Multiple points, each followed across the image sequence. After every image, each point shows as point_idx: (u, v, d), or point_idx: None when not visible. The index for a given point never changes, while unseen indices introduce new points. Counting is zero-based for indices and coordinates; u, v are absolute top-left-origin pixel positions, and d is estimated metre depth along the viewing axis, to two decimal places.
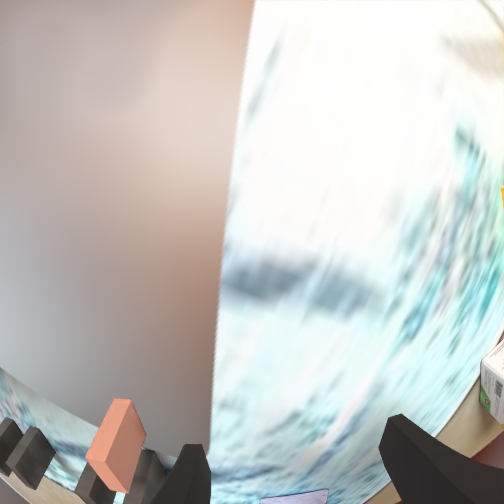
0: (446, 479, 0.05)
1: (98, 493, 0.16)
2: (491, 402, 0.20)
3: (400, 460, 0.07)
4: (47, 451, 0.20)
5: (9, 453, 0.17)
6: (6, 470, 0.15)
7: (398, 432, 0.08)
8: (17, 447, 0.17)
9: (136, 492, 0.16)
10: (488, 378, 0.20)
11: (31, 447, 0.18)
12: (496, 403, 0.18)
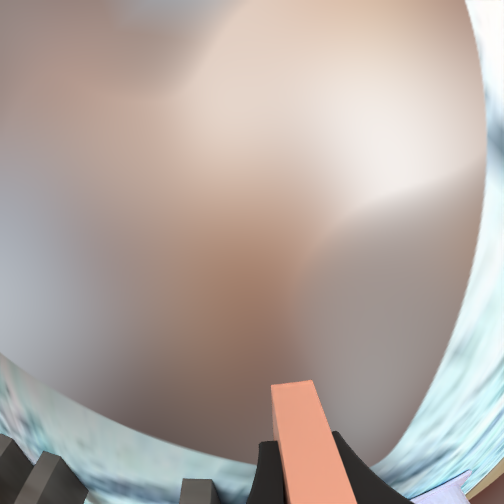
0: None
1: None
2: None
3: None
4: (76, 492, 0.11)
5: (9, 494, 0.08)
6: None
7: None
8: (22, 490, 0.07)
9: None
10: None
11: (49, 491, 0.09)
12: None
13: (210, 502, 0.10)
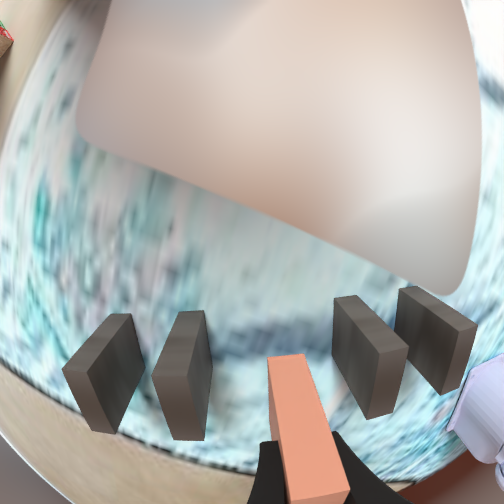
0: None
1: None
2: None
3: None
4: (208, 359, 0.18)
5: (120, 380, 0.14)
6: (113, 418, 0.12)
7: None
8: (166, 345, 0.14)
9: (454, 316, 0.13)
10: None
11: (199, 340, 0.15)
12: None
13: (365, 305, 0.17)
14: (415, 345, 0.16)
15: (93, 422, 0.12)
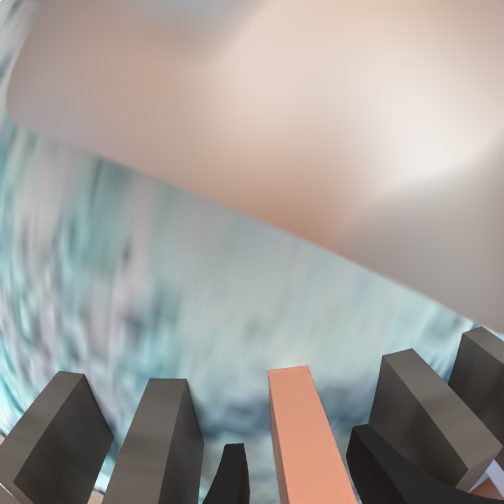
0: (403, 499, 0.05)
1: None
2: None
3: (363, 472, 0.07)
4: (196, 443, 0.10)
5: (73, 471, 0.07)
6: None
7: (360, 443, 0.08)
8: (124, 449, 0.07)
9: None
10: None
11: (177, 438, 0.08)
12: None
13: (428, 368, 0.10)
14: (479, 409, 0.09)
15: None
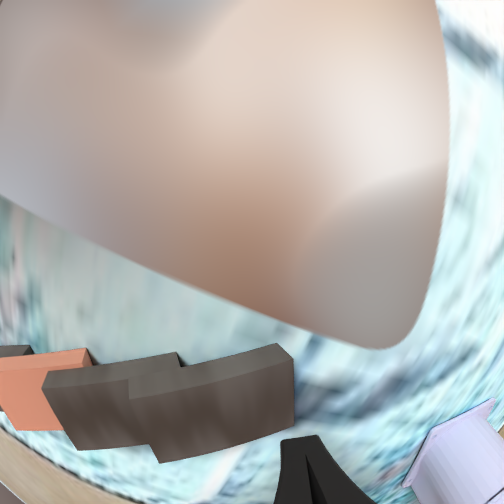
0: None
1: (73, 409, 0.10)
2: None
3: None
4: None
5: None
6: None
7: None
8: None
9: (165, 383, 0.10)
10: None
11: None
12: None
13: None
14: None
15: None
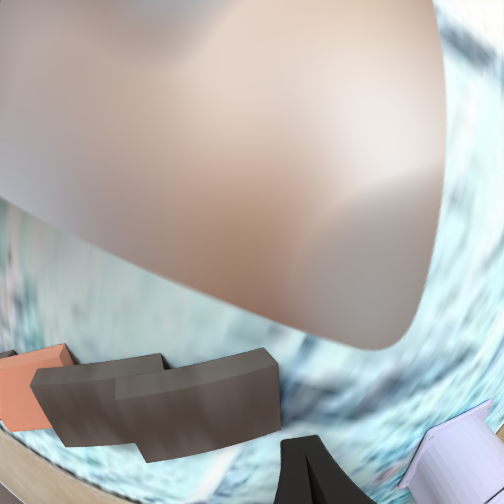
0: None
1: (60, 406, 0.10)
2: None
3: None
4: None
5: None
6: None
7: None
8: None
9: (150, 384, 0.10)
10: None
11: None
12: None
13: None
14: None
15: None
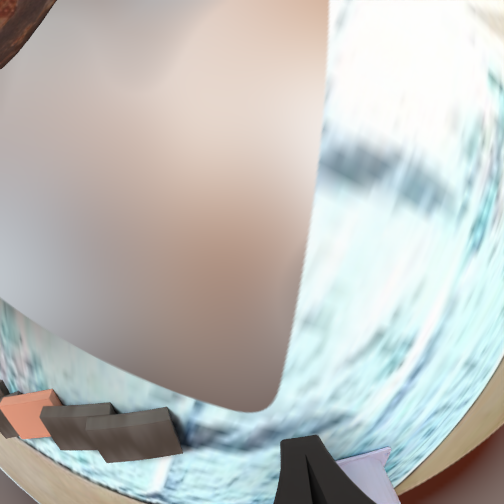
0: None
1: (56, 428, 0.17)
2: None
3: None
4: None
5: None
6: None
7: None
8: (0, 399, 0.18)
9: (103, 423, 0.17)
10: None
11: None
12: None
13: (92, 416, 0.18)
14: None
15: None
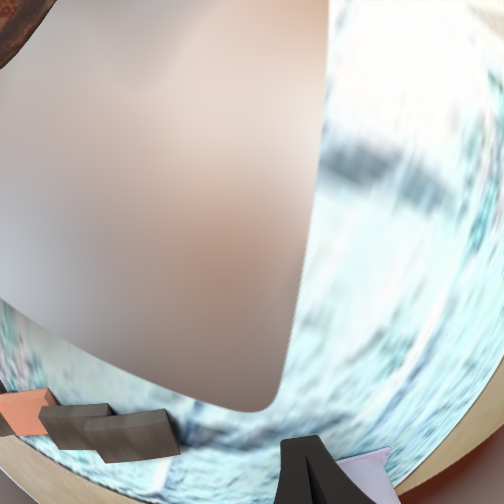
0: None
1: (55, 427, 0.17)
2: None
3: None
4: None
5: None
6: None
7: None
8: None
9: (101, 424, 0.17)
10: None
11: None
12: None
13: (89, 416, 0.18)
14: None
15: None
